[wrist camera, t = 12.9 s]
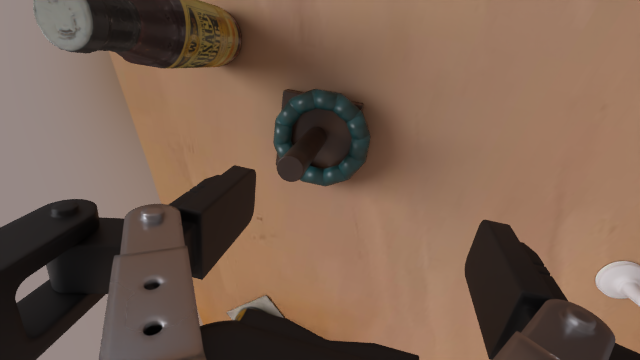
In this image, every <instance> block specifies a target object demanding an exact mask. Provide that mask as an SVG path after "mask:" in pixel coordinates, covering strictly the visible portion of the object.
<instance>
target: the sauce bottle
mask: <svg viewBox="0 0 640 360" xmlns="http://www.w3.org/2000/svg"><path fill="white" fill-rule="evenodd" d="M33 10H34V15H35V19H36V22H37V24H38V26H39V27H40V28H41V30H42V32H43V34H44V36H45V37H46V38H47V39H48V40H49V41H50V42H51V43H52V44H54V45H55V46H57V47H59V48H60V49H63V50H66V51H69V52H77V53H91V52H94V51H97V50H103V51H112V52H116V53H117V54H119V55H120V56H121V57H123V58H124V59H125V60H126V61H128V62H130V63H134V64H140V65H146V66H152V67H158V68H198V67H219V66H222V65H226V64H228V63H230V62H231V61H232V60H233V59H234V58H235V57H236V56H237V55H238V52H239V51H240V48H241V34H240V33H241V32H240V28H239V26H238V24H237V23H236V21H235V20H234V19H233V18H232V16H231V15H230V14H229V13H228V12H227V11H225V10H223V9H222V8H220V7H218V6H215V5H212V4H208V3H205V2H202V1H199V0H34V7H33Z"/></svg>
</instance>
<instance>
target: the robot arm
mask: <svg viewBox="0 0 640 360" xmlns="http://www.w3.org/2000/svg"><path fill="white" fill-rule="evenodd" d="M255 186H256V172H255V170H254V169H249V168H244V167H240V166H233V167H231V168H230V169H229V170H227V171H226V172H225V173H223V174H222V175H216V176H213V177H210V178H207V179H205V180H203V181H202V182H200V183H199V184H198V185H197V186H195V187H193V188H192V189H190V191H188V192H186V193H185V194H183V195H182V196H180V197H179V198H178V199H176V200H175V201H173V202H172V203H170V204H169V205H165V204H151V205H145V206H141V207H138V208H135V209H133V210H132V211H130V212H129V213H128V214H127V215H126V216H125V219H120V218H99V216H98V210H97V206H96V204H95V203H93V202H91V201H88V200H82V199H70V200H62V201H58V202H54V203H50V204H47V205H45V206H43V207H41V208H39V209H37V210H35V211H33V212H31V213H29V214H27V215H25V216H23V217H21V218H19V219H17V220H15V221H13V222H11V223H9V224H7V225H5V226H3V227H1V228H0V360H36V359H37V358H38V357H39V356H40V355H41V354H42V353H44V352H45V351H46V350H47V349H48V348H49V347H50V346H51V345H52V344H53V343H54V342H55V341H56V340H57V339H59V337H61V336H62V335H63V333H65V332H66V331H67V330H68V329H69V328H70V327H71V326H72V325H73V324H74V323H76V321H78V319H80V318H81V317H82V316H83V315H84V314H85V313H86V312H87V311H88V310H89V309H90V308H92V307H93V306H94V305H95V304H96V303H97V302H98V301H99V300H100V299H101V298H102V297H103V296H104V295H105V294H108V300H107V306H106V313H105V320H104V327H103V334H102V340H101V347H100V354H99V360H419V356H418V355H414V354H411V353H407V352H404V351H400V350H396V349H393V348H389V347H386V346H382V345H379V344H375V343H360V342H343V341H330V340H326V339H324V338H322V337H320V336H318V335H316V334H314V333H313V332H311V331H309V330H307V329H305V328H303V327H301V326H299V325H298V324H296V323H294V322H292V321H290V320H288V319H286V318H282V317H279V316H275V315H271V314H268V313H264V312H261V311H257V310H254V309H250V308H247V310H246V311H245V313H244V315H243V317H242V318H241V320H230V321H220V322H214V323H210V324H206V325H202V326H200V325H199V318H198V312H197V306H196V299H195V293H194V286H193V280H192V277H194V278H198V279H201V280H202V279H203V278H204V277H205V276H206V275H207V273H208V272H209V271H210V270H211V269H212V267H213V266H214V265H215V264H216V263H217V261H218V260H219V259H220V258H221V257H222V255H223V254H224V253H225V252H226V251H227V249H228V248H229V247H230V246H231V245H232V243H233V242H234V241H235V240H236V239H237V237H238V236H239V235H240V234H241V233H242V231H243V230H244V229H245V228H246V227H247V225H248V224H249V223H250V221H251V219H252V216H253V212H254V203H255ZM45 265H46V266H47V270H48V274H49V278H50V279H49V280H48V281H46V282H45V283H44V284H42V285H41V286H40V287H38V288H37V289H35V290H34V291H33V292H31V293H30V294H29V295H27V296H26V297H25V298H23V299H22V300H21V301H19V302H18V303H16V301H15V295H16V291H17V289H18V287H19V286H20V284H21V283H22V282H23V281H24V280H25V279H26V278H27V277H29V276H30V275H31V274H33V273H34V272H36V271H37V270H39V269H40V268H42V267H43V266H45ZM465 277H466V281H467V284H468V288H469V291H470V295H471V298H472V302H473V305H474V308H475V312H476V315H477V319H478V322H479V326H480V329H481V333H482V336H483V340H484V343H485V347H486V350H487V353H488V357H489V359H491V360H640V354H639V353H637V352H634V351H632V350H630V349H628V348H625V347H623V346H621V345H619V344H617V343H615V336H614V334H613V332H612V331H611V329H610V328H609V327H608V326H607V325H606V324H605V323H604V322H603V321H602V320H601V319H600V318H598V317H597V316H596V315H594V314H593V313H591V312H590V311H588V310H586V309H585V308H583V307H581V306H579V305H576V304H574V303H571V302H568V300H567V299H566V297H565V296H564V294H563V293H562V291H561V290H560V288H559V287H558V285H557V283H556V282H555V280H554V279H553V277H552V276H550V273H549V271H548V270H547V268H546V267H544V264H543V262H542V261H541V259H540V258H539V256H538V255H537V254H536V253H535V252H534V251H533V250H532V249H530V248H529V247H528V246H527V245H526V244H524V243H522V242H520V241H519V240H518V238H517V236H516V235H515V233H514V231H513V230H512V228H511V227H510V225H507V224H503V223H498V222H493V221H489V220H483V221H482V222H481V223H480V225H479V228H478V230H477V233H476V236H475V238H474V241H473V243H472V246H471V248H470V251H469V254H468V256H467V259H466V263H465Z"/></svg>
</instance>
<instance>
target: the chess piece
mask: <svg viewBox="0 0 640 360" xmlns="http://www.w3.org/2000/svg"><path fill="white" fill-rule="evenodd" d="M595 282H596V286H597V287H598V289H599V290H600V291H602V292H603V293H604V294H605V295H607V296H609V297H612V298H617V299H625V298H630V299H631V300H632V301H633V302H635V303H636V304H637V305H638V306H640V266H639V265H638V264H636V263H633V262H629V261H618V262H614V263H611V264H608V265H606V266H605V267H603V268H602V269H601V270H600V271H599V272H598V274H597V276H596V279H595Z"/></svg>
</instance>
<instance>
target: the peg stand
mask: <svg viewBox="0 0 640 360" xmlns="http://www.w3.org/2000/svg"><path fill="white" fill-rule="evenodd" d="M303 93H305V92H299V91H294V90H288V89H287V90H285V91H283V100H282V109H283V108H284V107H285V105H286V104H287V103H288V101H289V100H290V99H291V98H293V97H295V96H298V95H300V94H303ZM351 102H352V103H353V104H354V105H355V106H357V107H358V108H359V109H360V110H361V111H362V108H363V103H358V102H353V101H351ZM281 111H282V110H281ZM351 139H352V137H351V135H350V132H349V129H348V126H347V124H346V122H345V121H344V120H342V119H341V118H340V117H339V116H338V115H337V114H335V113H334V112H333V111H327V110H322V109H314V110H311V111H309V112H306V113H303V114H302V115H301V116H300V117H299V119H298V120H297V121H296V123H295V124H294V125H293V129H292V138H291V142H292V144H293V146H292V147H291V148H290V149H289V150H288V151H287V152H286V153H285V154H284V155H283V157H282V158H281V159H280V158H279V155H278V153H277V159H276V165H277V171H278V174H279V175H280V177H281V178H283V179H284V180H286V181H289V182H294V181H297V180H299V179H300V178H301V177H302V176H303V174H304V173H305V171H306V170H307V168H308V167H309V166H314V167H318V168H323V169H326V168H329V167H332V166H335V165H338V164H340V163H341V162H342V160H343V159H344V158H345V157H346V156H347V155H348V154H349V150H350V145H351Z"/></svg>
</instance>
